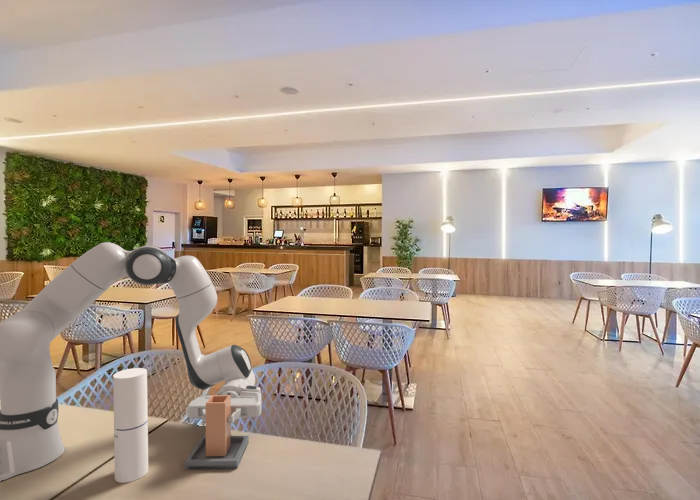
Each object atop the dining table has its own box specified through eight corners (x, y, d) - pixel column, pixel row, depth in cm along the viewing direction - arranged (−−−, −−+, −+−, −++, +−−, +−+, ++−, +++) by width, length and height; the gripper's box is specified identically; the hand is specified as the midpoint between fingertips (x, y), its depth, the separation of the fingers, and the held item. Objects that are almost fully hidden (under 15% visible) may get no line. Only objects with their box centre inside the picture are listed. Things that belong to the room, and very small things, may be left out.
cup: (205, 456, 96) (205, 403, 96) (212, 445, 101) (212, 395, 101) (225, 456, 97) (225, 403, 96) (230, 445, 102) (230, 395, 101)
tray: (184, 469, 93) (184, 461, 93) (202, 443, 105) (202, 436, 105) (237, 468, 93) (237, 460, 93) (248, 442, 105) (248, 435, 105)
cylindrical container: (133, 484, 87) (131, 379, 87) (107, 480, 89) (105, 377, 88) (154, 466, 94) (153, 369, 94) (130, 462, 96) (129, 367, 95)
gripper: (197, 387, 111) (177, 408, 97) (265, 387, 112) (255, 407, 98) (197, 408, 111) (177, 432, 98) (265, 407, 112) (255, 431, 98)
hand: (217, 420), depth 98 cm, fingers open, 5 cm apart
